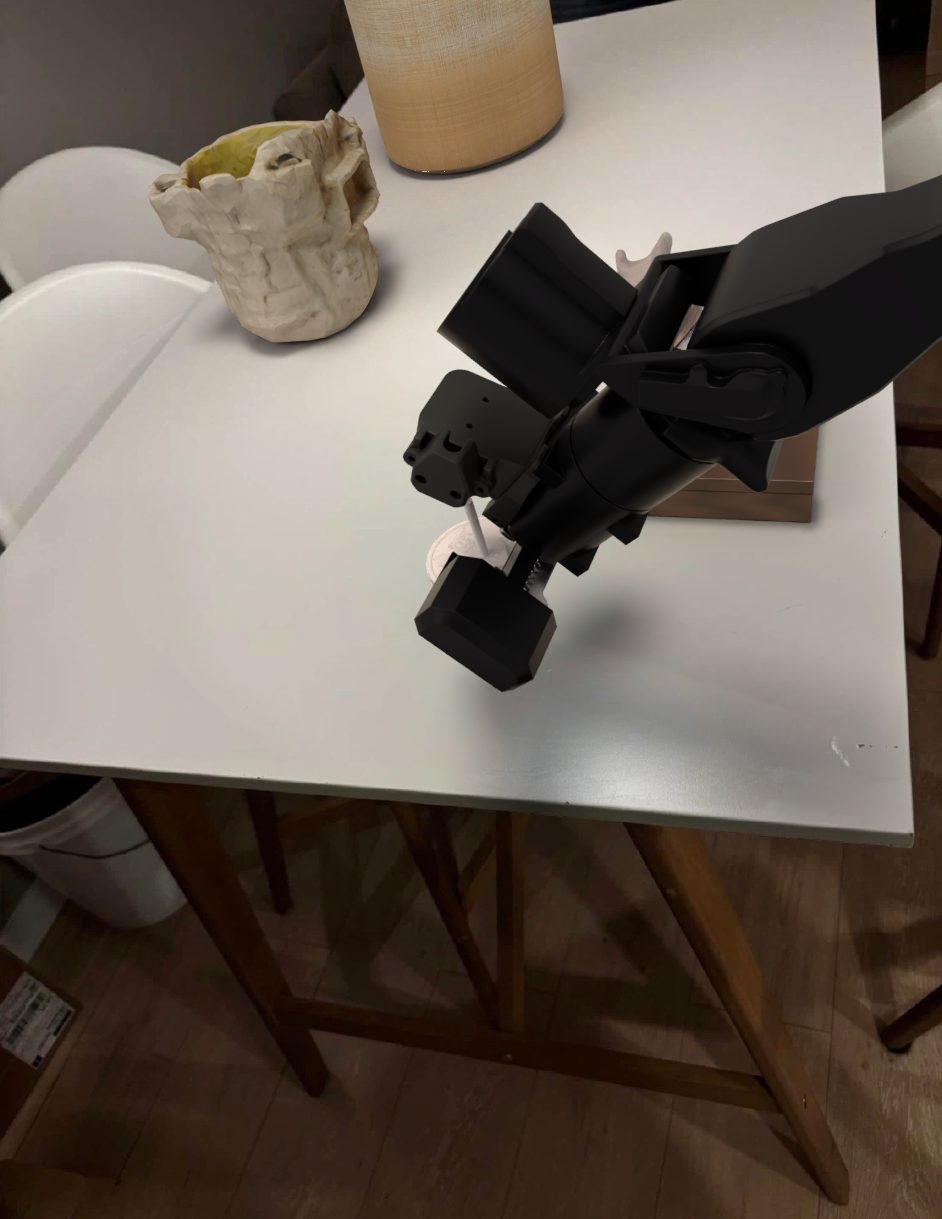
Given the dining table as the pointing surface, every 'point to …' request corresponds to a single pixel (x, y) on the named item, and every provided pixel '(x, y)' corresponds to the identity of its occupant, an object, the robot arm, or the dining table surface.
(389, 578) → the dining table surface
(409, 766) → the dining table surface
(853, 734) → the dining table surface
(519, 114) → the planter
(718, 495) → the wooden jewelry box
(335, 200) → the ceramic vessel
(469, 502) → the smoothie
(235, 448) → the dining table surface
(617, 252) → the seashell
